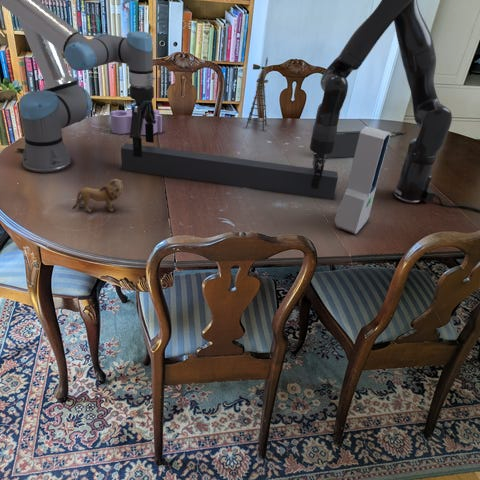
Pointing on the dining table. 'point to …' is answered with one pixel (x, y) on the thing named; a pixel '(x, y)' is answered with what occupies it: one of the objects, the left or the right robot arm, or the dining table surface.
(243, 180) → the bar
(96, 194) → the lion figurine
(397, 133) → the sword
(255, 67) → the miniature windmill
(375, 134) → the electronic device
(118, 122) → the purple lobed container
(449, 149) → the dining table surface
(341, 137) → the handheld gaming console
